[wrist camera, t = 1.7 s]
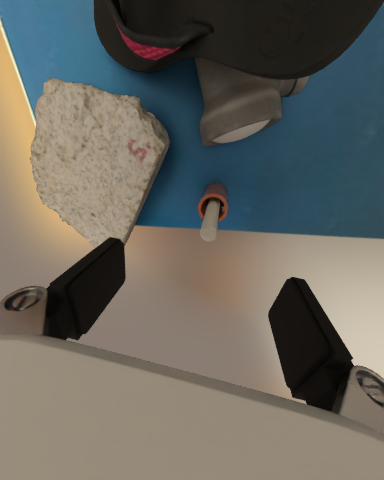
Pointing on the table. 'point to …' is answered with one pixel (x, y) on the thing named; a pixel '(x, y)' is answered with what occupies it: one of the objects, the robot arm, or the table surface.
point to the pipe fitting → (239, 101)
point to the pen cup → (218, 192)
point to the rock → (95, 157)
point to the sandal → (232, 33)
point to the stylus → (210, 220)
